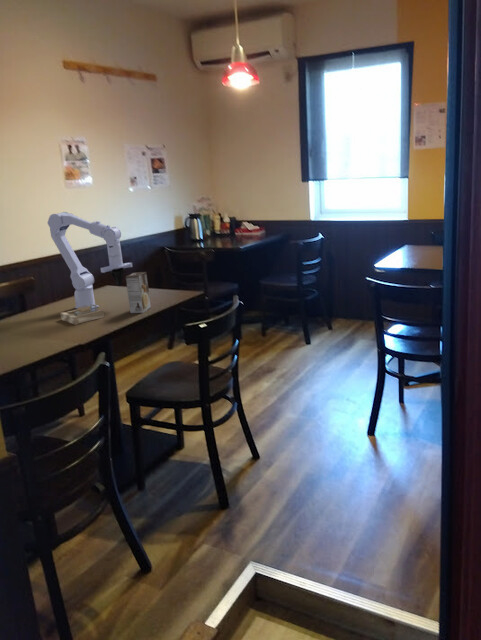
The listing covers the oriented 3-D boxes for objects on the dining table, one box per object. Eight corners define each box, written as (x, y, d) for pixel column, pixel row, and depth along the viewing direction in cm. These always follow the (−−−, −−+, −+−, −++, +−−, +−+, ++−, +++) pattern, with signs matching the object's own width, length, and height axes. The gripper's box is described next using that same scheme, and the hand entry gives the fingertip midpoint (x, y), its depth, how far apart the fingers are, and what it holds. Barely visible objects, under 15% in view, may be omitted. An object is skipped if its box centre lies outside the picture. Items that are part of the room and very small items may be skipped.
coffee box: (137, 307, 248) (133, 272, 244) (151, 307, 247) (146, 271, 242) (129, 313, 239) (124, 276, 235) (143, 312, 238) (139, 275, 234)
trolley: (75, 318, 237) (73, 307, 236) (92, 314, 242) (90, 303, 241) (81, 320, 233) (79, 309, 232) (98, 316, 238) (97, 305, 237)
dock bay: (61, 319, 238) (60, 312, 237) (90, 312, 246) (89, 306, 245) (75, 324, 227) (74, 317, 227) (105, 317, 236) (104, 310, 235)
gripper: (104, 258, 238) (108, 289, 241) (134, 253, 246) (138, 283, 250) (96, 257, 243) (101, 288, 247) (126, 252, 252) (130, 281, 255)
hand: (119, 285), depth 249 cm, fingers closed
